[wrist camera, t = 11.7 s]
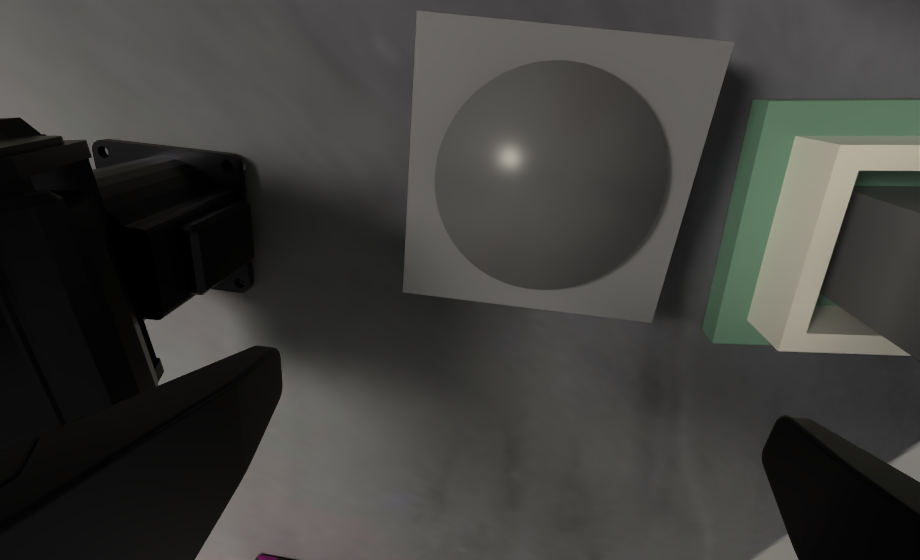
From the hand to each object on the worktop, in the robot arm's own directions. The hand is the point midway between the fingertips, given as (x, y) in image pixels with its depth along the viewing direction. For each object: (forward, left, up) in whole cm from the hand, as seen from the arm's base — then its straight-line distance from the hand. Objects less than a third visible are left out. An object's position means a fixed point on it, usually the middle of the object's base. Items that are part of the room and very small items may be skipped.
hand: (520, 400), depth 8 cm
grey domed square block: (+1, +2, -13) cm, 13 cm away
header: (+14, +1, -13) cm, 19 cm away
